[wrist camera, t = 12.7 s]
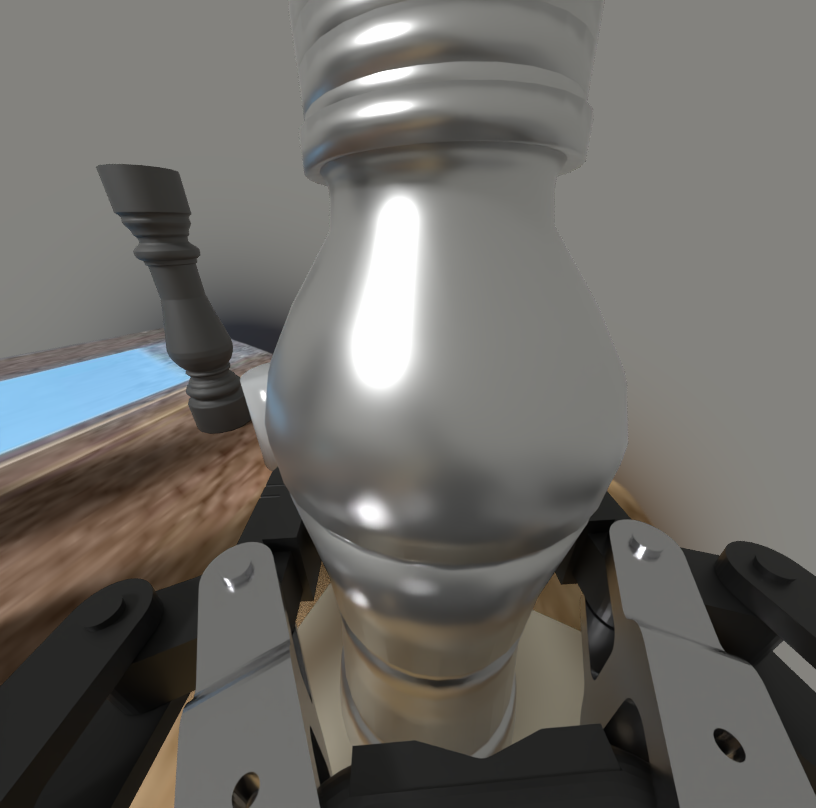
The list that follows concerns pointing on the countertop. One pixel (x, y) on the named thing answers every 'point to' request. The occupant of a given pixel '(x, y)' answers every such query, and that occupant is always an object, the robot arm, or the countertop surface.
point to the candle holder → (179, 289)
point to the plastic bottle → (443, 349)
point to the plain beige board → (535, 672)
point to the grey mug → (259, 408)
